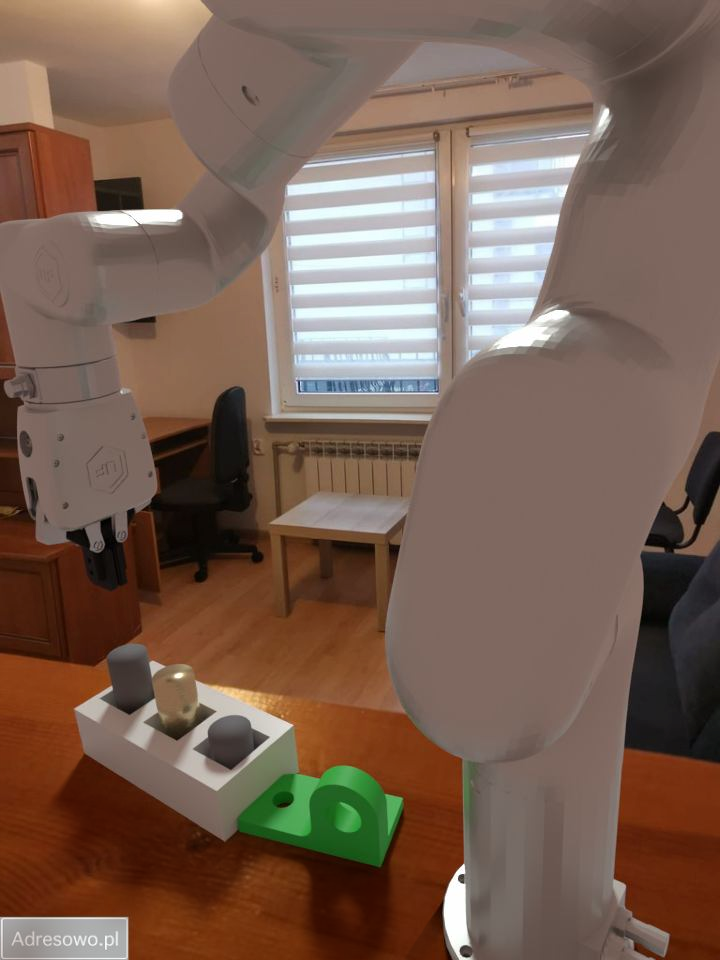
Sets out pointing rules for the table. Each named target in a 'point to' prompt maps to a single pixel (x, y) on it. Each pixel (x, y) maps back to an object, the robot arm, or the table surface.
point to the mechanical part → (327, 814)
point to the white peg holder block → (188, 755)
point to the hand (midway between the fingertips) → (109, 583)
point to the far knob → (130, 677)
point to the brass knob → (176, 700)
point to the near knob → (230, 740)
